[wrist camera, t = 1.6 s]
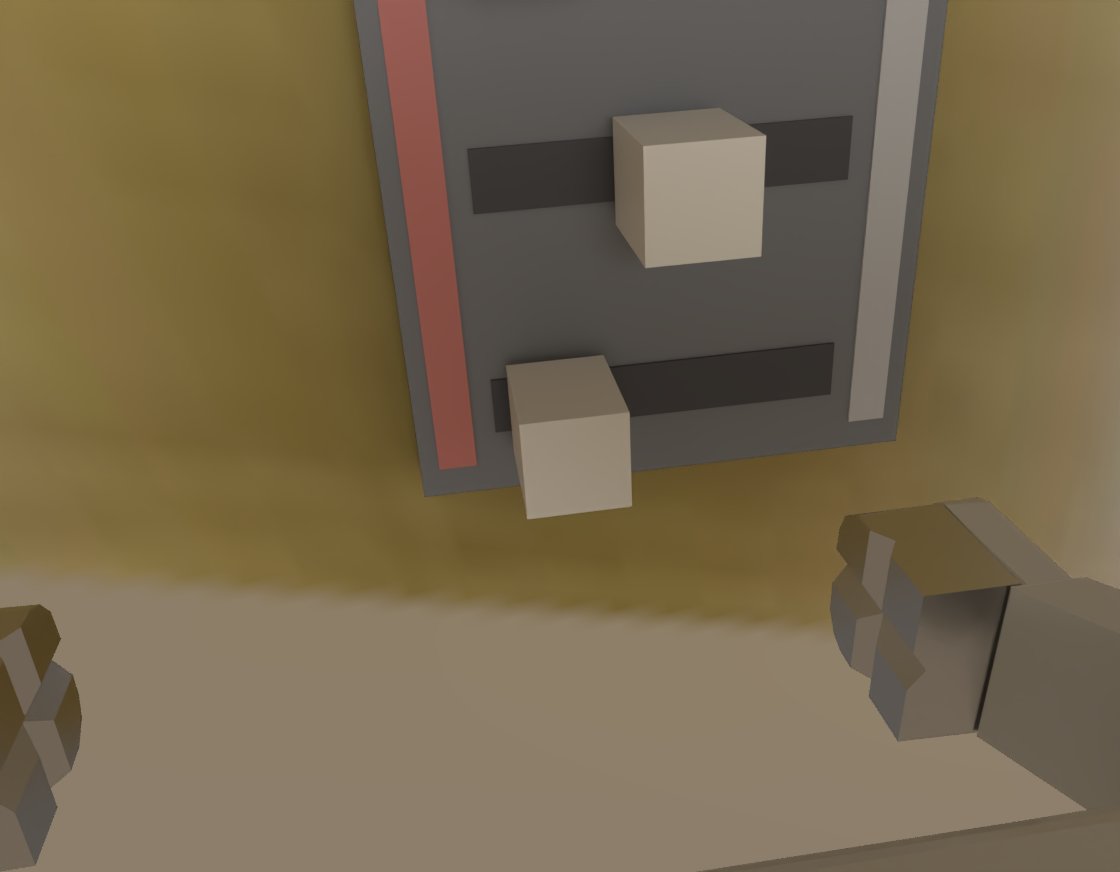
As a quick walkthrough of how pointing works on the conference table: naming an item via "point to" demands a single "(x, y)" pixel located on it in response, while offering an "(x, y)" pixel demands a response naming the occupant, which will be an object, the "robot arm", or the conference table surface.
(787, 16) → the panel
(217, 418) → the conference table surface
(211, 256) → the conference table surface
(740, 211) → the block
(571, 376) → the block
